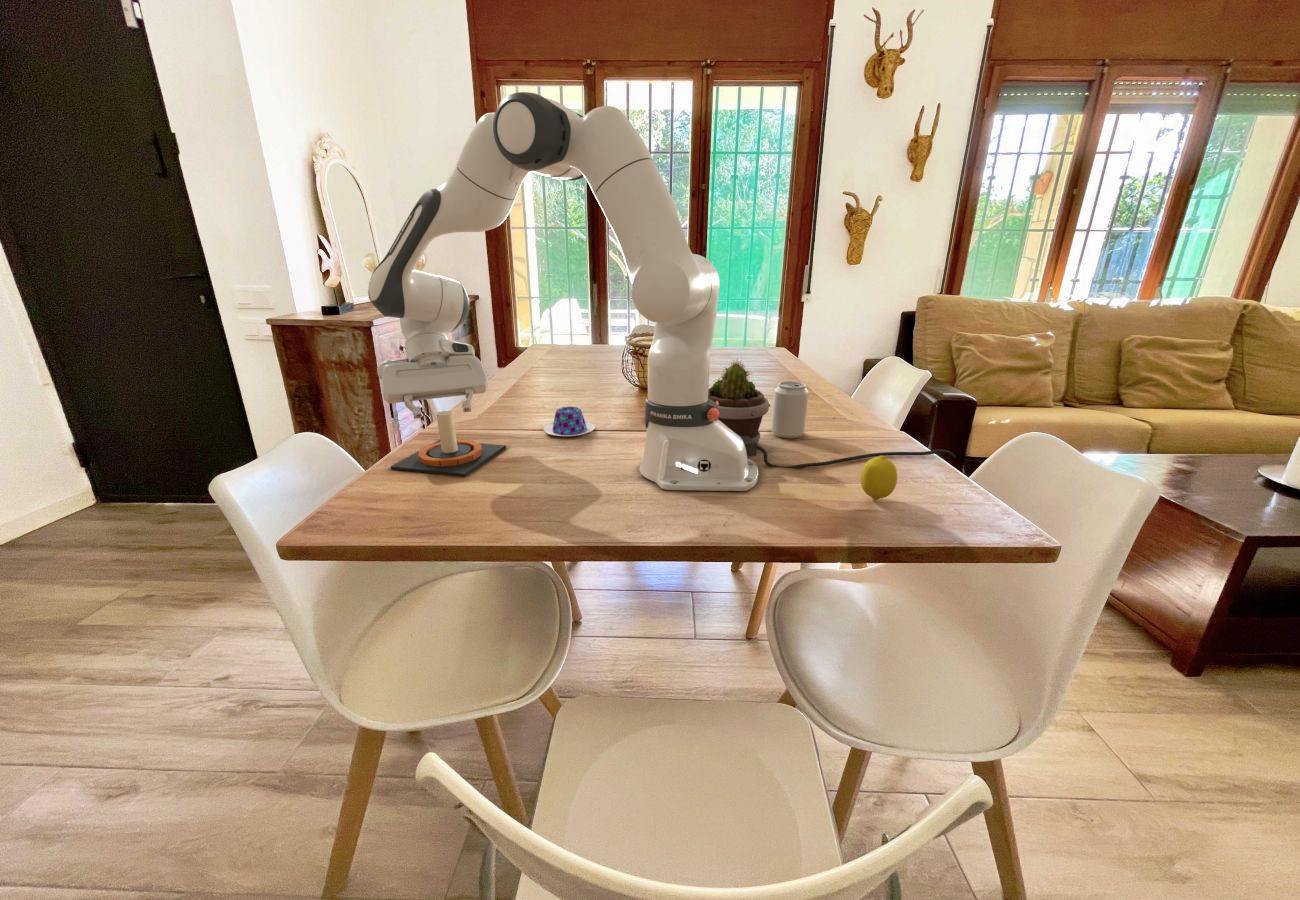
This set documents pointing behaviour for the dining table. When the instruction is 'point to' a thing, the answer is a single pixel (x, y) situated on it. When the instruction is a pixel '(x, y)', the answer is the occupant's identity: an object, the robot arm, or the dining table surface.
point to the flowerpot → (739, 401)
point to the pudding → (569, 423)
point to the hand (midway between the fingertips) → (443, 413)
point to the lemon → (879, 477)
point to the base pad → (449, 459)
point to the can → (789, 409)
